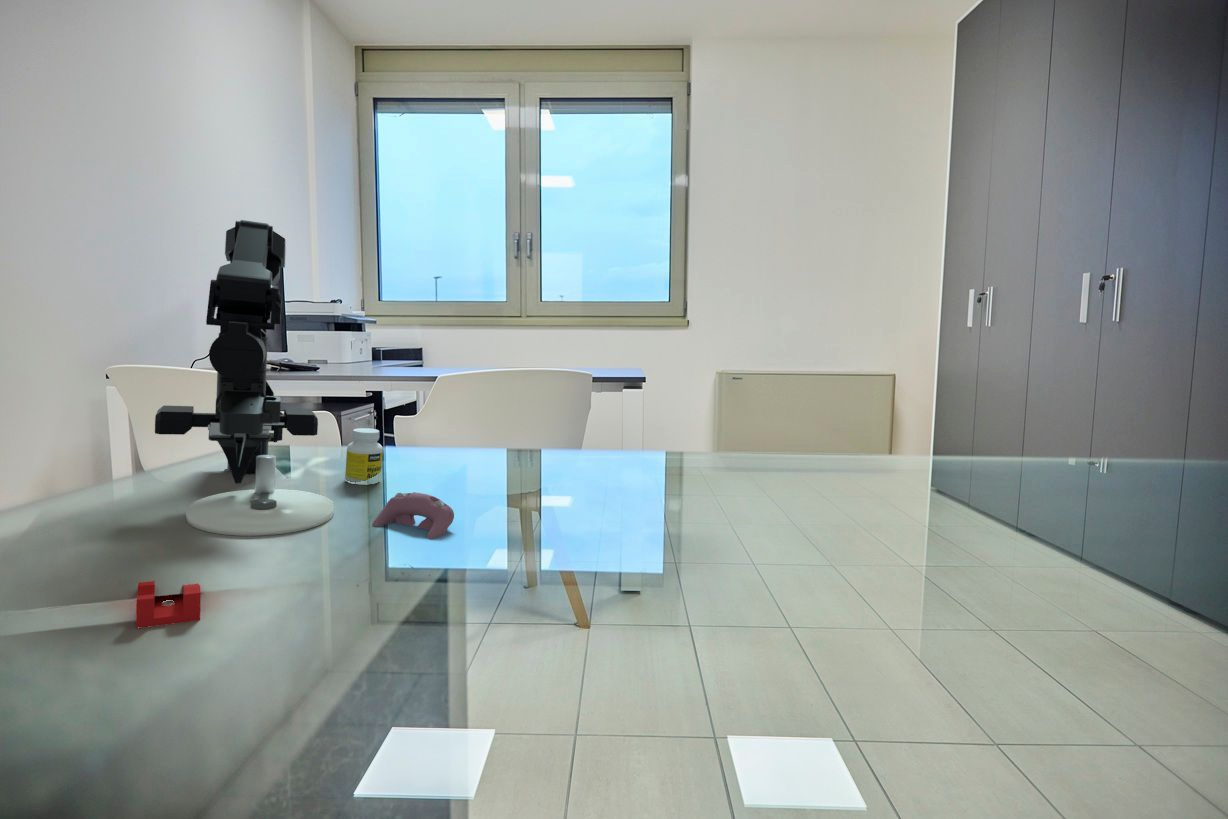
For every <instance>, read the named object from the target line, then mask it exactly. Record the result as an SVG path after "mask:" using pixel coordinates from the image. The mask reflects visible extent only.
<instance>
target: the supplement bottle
mask: <svg viewBox="0 0 1228 819" xmlns="http://www.w3.org/2000/svg"><path fill="white" fill-rule="evenodd" d="M352 440H353V441H352V442H350V443H348V445H347V448H346V457H345V458H346V459H345V474H344V480H345V479H346V480H347V481H350V482H355V483H356V482H361V481H366V480H368V479H370V478H372V477H374V476H376V475H377V474H379V473H380V472H381V473H382V467H383V466H382V464H383V455H384V454H383V453H384V452H383V450H384V447H383V446H382V445H381V443H379V442H378V441H379V440H380V430H379V429H375V428H370V427H369V428H368V427H366V428H365V427H360V428H354V429H353V430H352Z"/></svg>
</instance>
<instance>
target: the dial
mask: <svg viewBox="0 0 1228 819" xmlns="http://www.w3.org/2000/svg"><path fill="white" fill-rule="evenodd" d="M276 458H277V457H276V456H275V455H272V454H268V455H259V456H257V457H256V474H255V481H254V482H255V484H254V488H253V489H243V490H233V491H227V492H221V493H216V494H212V495H208V496H205V497H202V498H200V499H198V500H195V501H193V502H191V504H189V505H188V506H187V507H186V510H185V512H186V513H185V516H186V517H185V520H186V522H187V524H189V526H191V527H193V528H194V529H197V530H200V531H204V532H208V533H211V534H217V535H218V534H219V535H225V536H226V535H227V536H241V537H242V536H243V537H247V536H249V537H253V536H254V537H258V536H273V535H284V534H291V533H297V532H301V531H304V530H309V529H313V528H315V527H318V526H321V525H323V524H325V523H327V522H328V521H330V520H331V519H332V518H333V517H334V512H335V504H334V502H333V500H331V499H329V498H328V497H326V496H324V495H323V494H322V495H320V494H318V493H314V492H310V491H304V490H296V489H282V488H276V487H275V485H276V465H277V464H276V462H277V459H276Z"/></svg>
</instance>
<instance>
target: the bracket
mask: <svg viewBox="0 0 1228 819" xmlns="http://www.w3.org/2000/svg"><path fill="white" fill-rule="evenodd" d="M155 582H156V581H155V580H150V581H142V582H141V581H140V582H137V596H136V601H135V602H136V604H135V605H136V606H135V609H136V610H135V629H136V628H138V627H146V628H149V627H148V626H153V627H157V626H156V625H161V626H166V625H165V624H168V625H173V624H172V623H175V624H181V623H189V622H196V621H201V602H202V601H201V600H202V599H201V598H202V597H201V596H202V593H201V591H202V590H201V586H200V584H199V583H190V584H183V585H182V593H174V594H173V593H172V594H165V595H163V594H162V595H155V594H156V593H155V589H156V585H155V584H156V583H155ZM166 600H173V601H174V602H173V601H172V602H173V604H171V605H170V604H169V605H163V603H162V602H163V601H166Z"/></svg>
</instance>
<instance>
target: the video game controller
mask: <svg viewBox="0 0 1228 819" xmlns="http://www.w3.org/2000/svg"><path fill="white" fill-rule="evenodd" d="M415 516H419V517H423V518H424V519H423V520H422V521H420V522H419V524H418V525H417V528H419V529H424V530H428V532H427V535H426V539H427V540H434V539H438V538H441V537H442V536H444V535H445V534H446V533H447V531H448V529H449V527H450V526H451V525H452V523H453V521H454V519H455V512H454V509H453V508H452V507H451V506H450V505H448V504H447V503H445V501H443V500H442V499H440V498H437V497H436V496H433V495H430V494H426V493H421V492H408V493H407V492H404V493H403V492H397V493H396V494H395V496H393V497H391V498H390V499H389V500H388V501H387V502H386V504H385V505H384V507H383V508H382V510H380V512H379V513H378V514H377V516H376V517H375V518H374V520H373V522H372V525H371V526H372V527H376V528H377V527H381V526H385V525H388V524H391V523H394V522H395V523H396V524H397V523H398V524H402V525H407V526H410V527H412V526H414V525H415V524H416V520H415Z"/></svg>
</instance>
